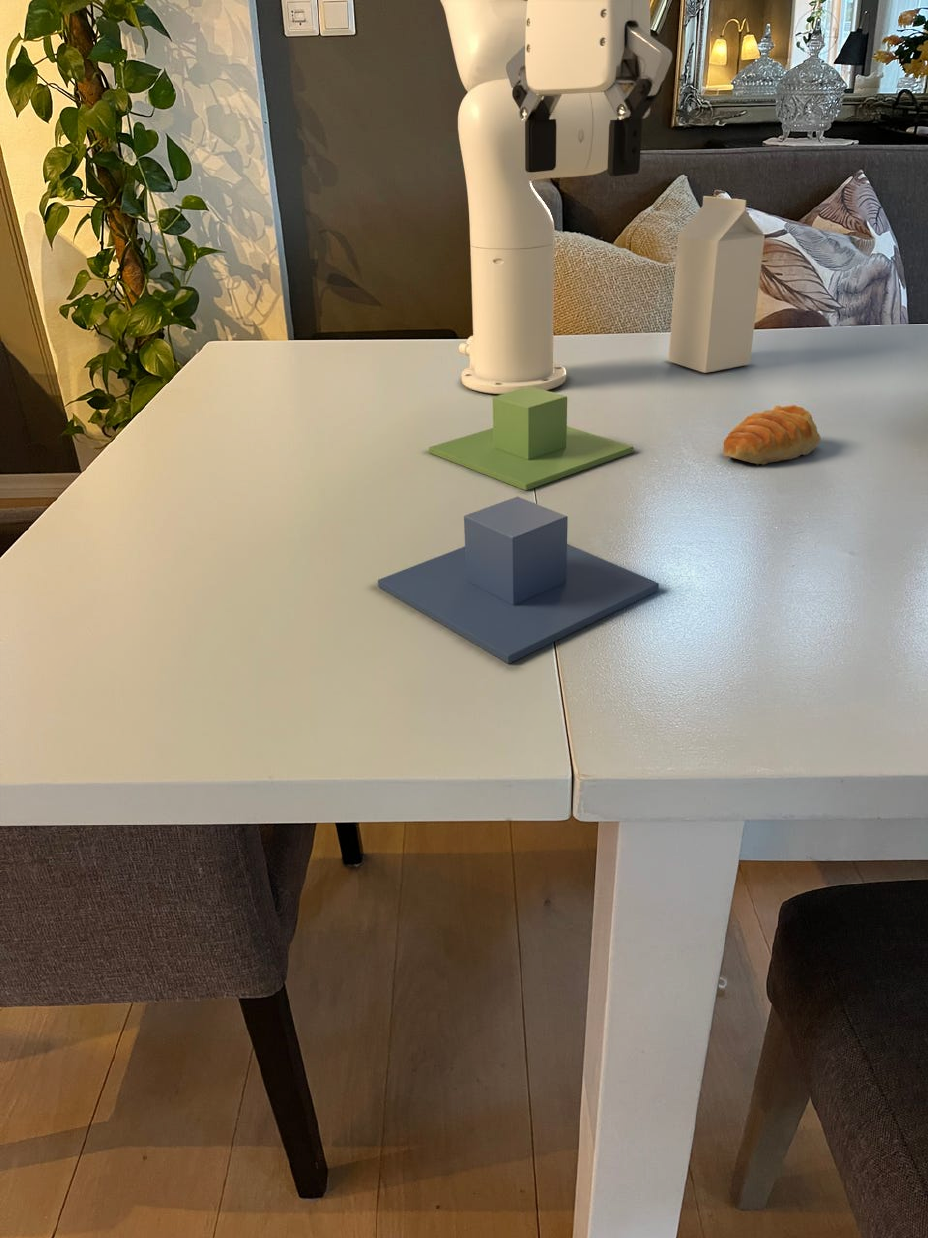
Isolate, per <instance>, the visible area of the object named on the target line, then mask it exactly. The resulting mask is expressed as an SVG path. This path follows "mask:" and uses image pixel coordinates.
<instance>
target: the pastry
mask: <svg viewBox="0 0 928 1238" xmlns="http://www.w3.org/2000/svg"><path fill="white" fill-rule="evenodd" d="M820 442H821V435H820V433H819V432H818V427H817V425H816V424H815V422H814V420H813V416H812V414H811V413H810V412H809V411H808V410H806V409H805V408H804V407H801V406H798V405H795V404H790V405H785V406H780V405H776V406H775V407H773V408H772V409H768V410H764V411H762V412H755V413H751V414H750V415H748V416H746V417H745V418H744V420H742V421H741V422H740V423H738V425H736V426H735V427H734V428H733V429H732V430H731V431H730V432H729V433H728V435H727V436H726V438H725V439H724V440H723V457H730V458H733V459H735V460H740V461H744V462H746V463H747V462H748V463H750V464H756V466H758V465H759V464H761V465H767V464H768V463H781V462H783V461H789V460H793V459H796V458H799V457H800V456H802V455H803V456H806V455H809V454H810V453H811V452H812V451H813V450H814V449H815V448H816V447H817V446H818V445H819V444H820Z"/></svg>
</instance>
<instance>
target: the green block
mask: <svg viewBox="0 0 928 1238" xmlns="http://www.w3.org/2000/svg"><path fill="white" fill-rule="evenodd" d="M567 426H568V396H567V395H564V394H561V393H556V392H553V391H550V390H542V389H539V388H535V387H532V386H530V387H527V388H523V389H520V390H516V391H512V392H509V393H505V394H497V395H495V396H492V428H493V442H494V448H496V449H499V450H502V451H505V452H507V453H510V454H513V455H516V456H519V457H521V458H524V459H527V460H530V459H533V458H536V457H539V456H542V455H545V454H548V453H551V452H554V451H557V450H560V449H563V448H566V441H567Z"/></svg>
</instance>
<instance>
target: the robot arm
mask: <svg viewBox="0 0 928 1238" xmlns="http://www.w3.org/2000/svg"><path fill="white" fill-rule="evenodd" d="M439 1H440V3H441V5H442V7H443V11H444V13H445V18H446V19H445V20H446V23H447V27H448V28H447V29H448V33H449V37H450V41H451V46H452V50H453V51H452V52H453V55H454V59H455V64H456V67H457V71H458V74H459V75H458V76H459V78H460V81H461V83H462V85H463V87H464V89H465V90H466V92H467V93H466V95H464V97H463V99H462V101H461V103H460V105H459V109H458V112H457V113H458V115H457V131H458V140H459V146H460V151H461V152H460V153H461V157H462V163H463V170H464V175H465V183H466V192H467V203H468V217H469V218H468V219H469V241H470V242H469V244H470V276H471V307H472V308H471V309H472V310H471V311H472V335H470V336H469V337H467V340H466V343H465V342H462V343H460V344H459V346H458V352H459V354H461V355H463V356H469V366H467V367H466V368H465V369H463V370H462V372H461V383H462V385H463V386H465V387H466V388H467V389H469V390H472V391H476V392H480V393H485V394H494V395H502V394H505V393H509V392H512V391H516V390H520V389H523V388H527V387H530V386H532V387H535V388H539V389H542V390H546V391H550V390H553V389H557V388H558V387H560V386H562V385H563V384H564V383H565V382H566V380H567V370H566V368H565V367H564V366H562V365H561V364H558V363H556V362H554V325H555V323H554V322H555V321H554V316H555V314H554V313H555V311H554V310H555V241H556V237H555V235H556V231H555V223H554V219H553V215H552V213H551V211H550V209H549V208H548V206H547V205H546V203H545V202H544V201H543V199H542V198H541V197H540V195H539V194H538V192H537V191H536V190H535V188H534V187H533V184H532V182H533V181H535V180H544V179H554V178H555V179H556V178H572V177H583V176H586V177H587V176H594V175H598V174H601V173H603V172H605V171H606V172H607V174H608V176H610V177H621V176H630V175H637V174H638V173H639V172H640V170H641V169H640V168H641V167H640V166H641V148H642V132H643V131H642V130H643V119H646V118H648V117H649V115H650V113H651V106H652V105H653V103H654V102H655V101H656V100H657V98H658V97H659V95H660V94H661V92H662V89H663V83H662V82H664V81H665V79H666V76H667V73H668V71H669V68H670V66H671V63H672V61H673V52H672V51H671V50H670V49H669V48H668V47H667V46H665V45H664V44H662V43H661V42H659V41H658V40H656V39H655V38H654V37H652V36H651V0H439Z"/></svg>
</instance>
